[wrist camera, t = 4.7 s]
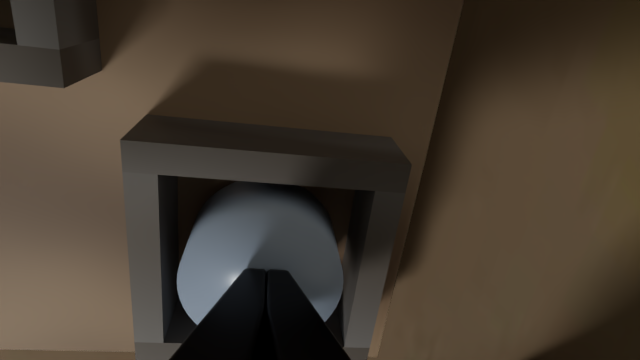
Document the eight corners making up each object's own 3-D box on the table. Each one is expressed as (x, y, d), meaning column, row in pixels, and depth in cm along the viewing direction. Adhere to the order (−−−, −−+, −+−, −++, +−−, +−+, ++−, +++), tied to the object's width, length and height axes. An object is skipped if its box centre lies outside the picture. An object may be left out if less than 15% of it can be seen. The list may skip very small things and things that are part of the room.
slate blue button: (324, 299, 10) (331, 349, 9) (192, 293, 10) (177, 345, 9) (343, 183, 9) (355, 219, 8) (192, 171, 9) (175, 208, 7)
